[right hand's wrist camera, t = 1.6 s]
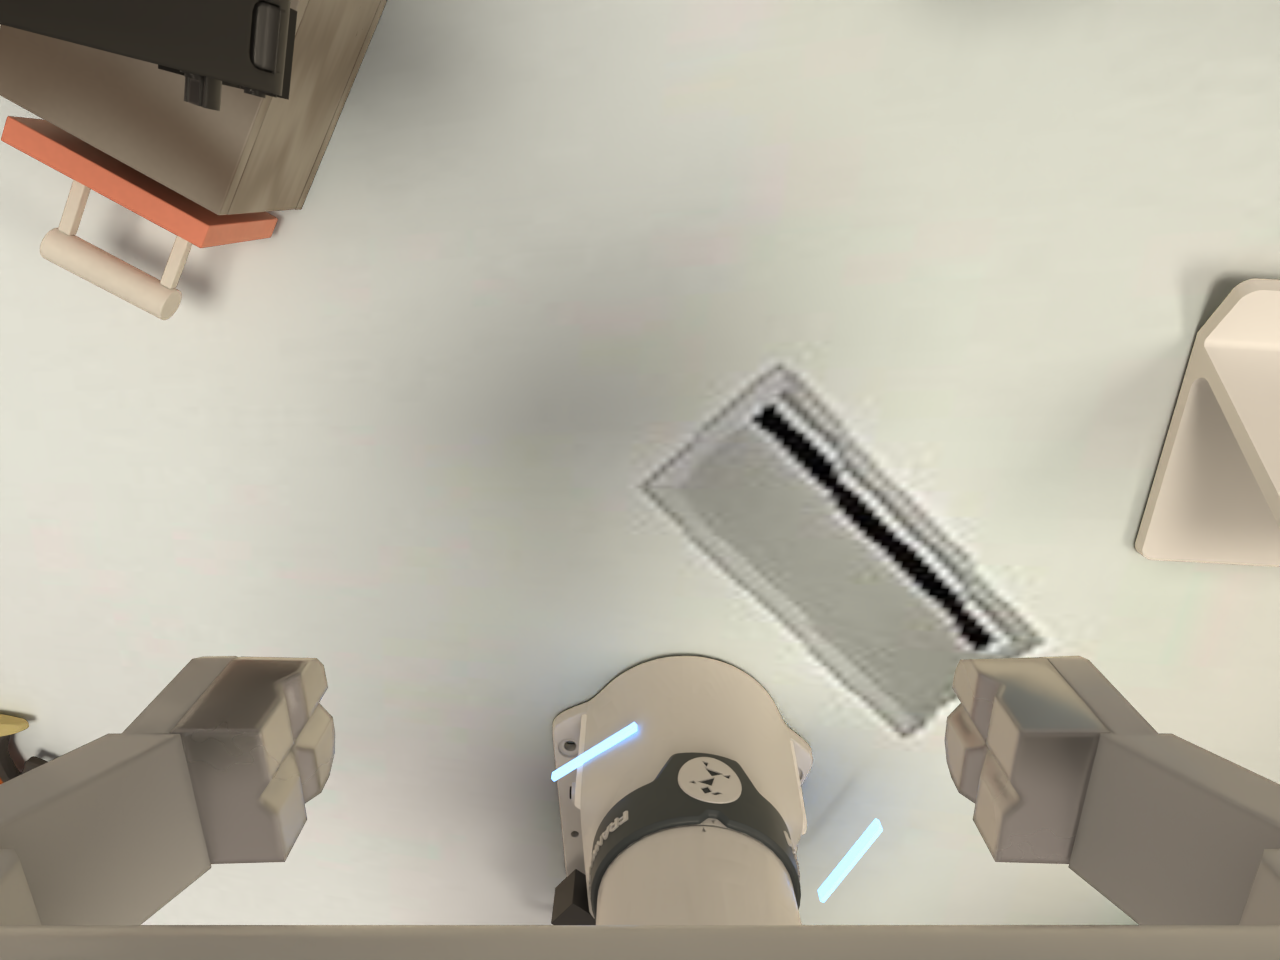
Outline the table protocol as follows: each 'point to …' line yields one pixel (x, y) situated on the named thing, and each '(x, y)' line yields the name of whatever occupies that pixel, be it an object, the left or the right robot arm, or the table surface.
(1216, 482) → the tablet stand
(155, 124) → the wooden drawer cabinet
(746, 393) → the table surface
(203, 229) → the drawer
